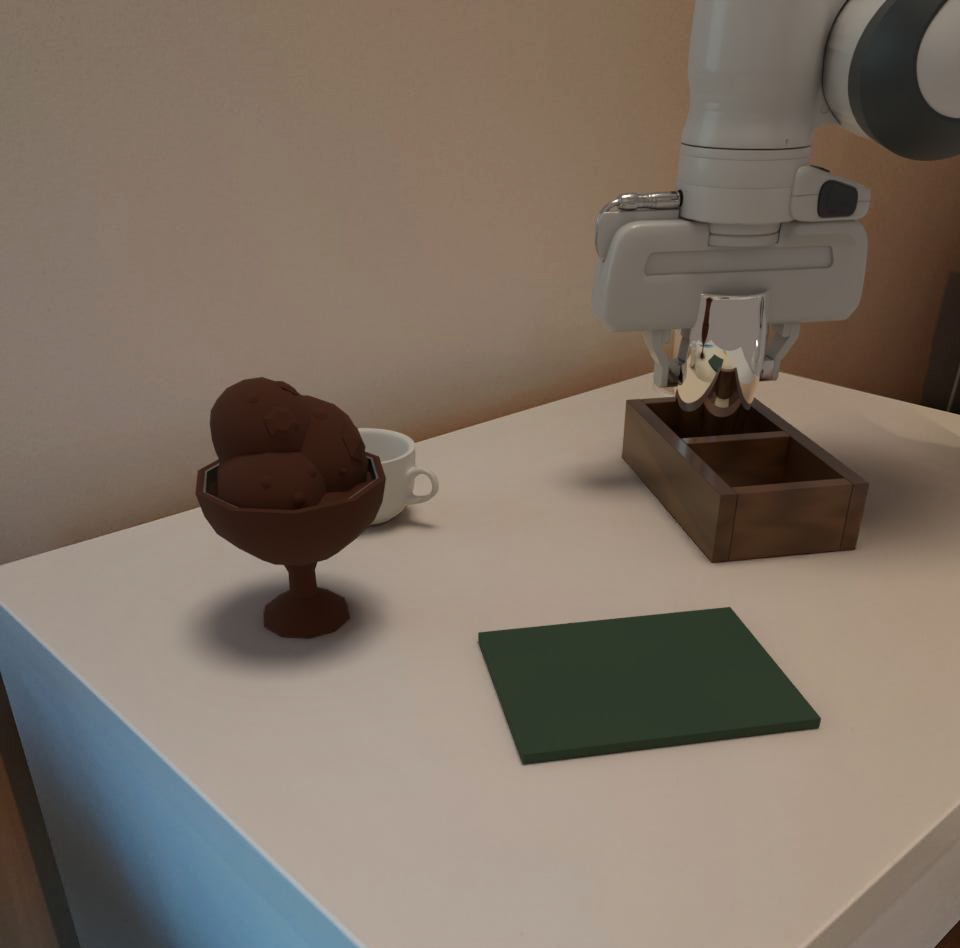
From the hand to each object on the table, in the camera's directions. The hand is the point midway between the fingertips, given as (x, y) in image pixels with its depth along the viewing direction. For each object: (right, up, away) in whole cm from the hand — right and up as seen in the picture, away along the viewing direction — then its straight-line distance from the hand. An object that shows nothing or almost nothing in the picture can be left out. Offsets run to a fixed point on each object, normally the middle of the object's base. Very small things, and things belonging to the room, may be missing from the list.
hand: (715, 382), depth 78 cm
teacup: (-26, -11, -2) cm, 28 cm away
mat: (-10, -22, -22) cm, 33 cm away
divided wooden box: (+1, -9, 0) cm, 9 cm away
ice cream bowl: (-29, -19, -15) cm, 38 cm away
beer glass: (0, -7, +4) cm, 8 cm away
